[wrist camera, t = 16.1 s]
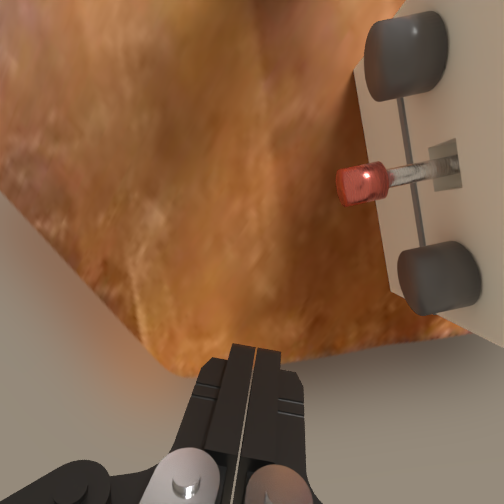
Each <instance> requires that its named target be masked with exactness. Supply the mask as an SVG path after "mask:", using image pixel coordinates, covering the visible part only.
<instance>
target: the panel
mask: <svg viewBox="0 0 504 504" xmlns="http://www.w3.org/2000/svg"><path fill="white" fill-rule="evenodd" d="M426 11H434V12H436V13H437V14H439V16H440V17H441V19H442V20H443V23H444V25H445V29H446V34H447V57H446V63H445V66H446V68H444V70H443V73H442V75H441V78H440V80H439V81H438V83H437V84H436V86H435V87H434V88H433V89H432V90H430V91H429V92H425V93H420V94H416V95H411V96H406V97H401V98H397V99H392V100H387V101H382V102H377V101H375V100H374V99H373V98H372V97H371V95H370V93H369V91H368V88H367V85H366V80H365V74H364V56H363V58H362V59H361V60H360V62H359V63H358V64H357V66H356V67H355V68H354V70H353V71H354V77H355V83H356V89H357V95H358V100H359V106H360V112H361V118H362V124H363V130H364V136H365V142H366V148H367V154H368V160H369V163H372V162H377V161H380V162H381V163H382V164H383V165H384V167H385V169H390V168H395V167H400V166H404V165H409V164H414V163H419V162H423V161H428V160H433V159H438V158H442V157H447V156H452V155H457V154H458V159H459V166H460V173H458V174H454V175H449V176H444V177H439V178H435V179H430V180H425V181H420V182H416V183H411V184H406V185H401V186H397V187H392V188H389V190H388V194H387V196H386V198H384V199H381V200H376V201H375V202H376V207H377V213H378V219H379V225H380V231H381V237H382V243H383V249H384V255H385V261H386V267H387V273H388V279H389V285H390V291H391V292H393V293H395V294H397V295H399V296H401V297H403V298H405V297H404V295H403V293H402V290H401V287H400V284H399V280H398V274H397V262H398V257H399V255H400V253H401V252H402V251H404V250H408V249H413V248H418V247H423V246H427V245H432V244H437V243H441V242H446V241H456V242H458V243H460V244H462V245H463V246H464V247H465V248H466V249H467V250H468V251H469V252H470V254H471V255H472V257H473V259H474V260H475V263H476V265H477V267H478V270H479V274H480V279H481V292H480V296H479V299H478V300H477V302H476V303H475V304H473V305H471V306H468V307H463V308H458V309H454V310H449V311H444V312H440V313H435V314H433V315H439V316H441V317H443V318H445V319H447V320H449V321H451V322H453V323H455V324H457V325H459V326H461V327H463V328H465V329H467V330H468V331H470V332H472V333H474V334H476V335H478V336H480V337H482V338H485V339H486V340H488V341H490V342H493V343H494V344H496V345H499V346H500V347H502V348H504V0H406V1H405V2H404V4H403V5H402V6H401V8H400V9H399V10H398V12H397V13H396V14H395V16H394V17H393V18H397V17H402V16H407V15H411V14H416V13H421V12H426Z"/></svg>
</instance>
